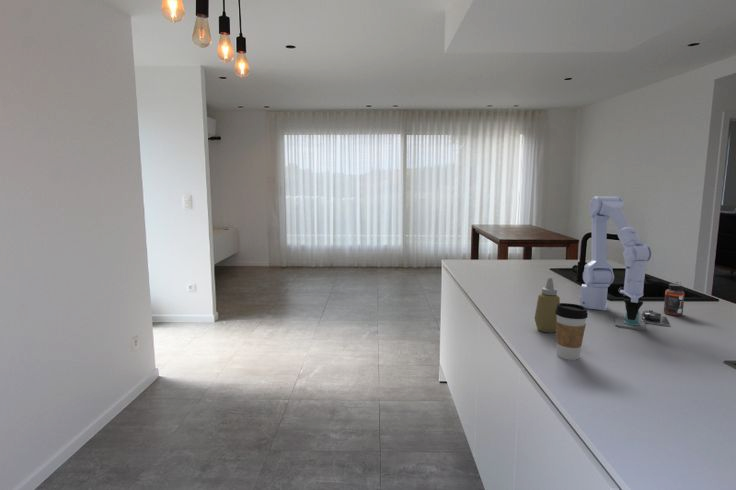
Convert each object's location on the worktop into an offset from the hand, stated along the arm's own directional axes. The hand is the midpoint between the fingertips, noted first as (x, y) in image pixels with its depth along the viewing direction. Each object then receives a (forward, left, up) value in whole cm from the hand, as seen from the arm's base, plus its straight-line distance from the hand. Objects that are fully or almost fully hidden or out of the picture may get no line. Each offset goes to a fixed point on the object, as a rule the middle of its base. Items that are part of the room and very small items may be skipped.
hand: (630, 317), depth 150 cm
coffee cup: (-17, -40, -3) cm, 44 cm away
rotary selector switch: (+7, +10, -3) cm, 13 cm away
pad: (0, 0, -3) cm, 3 cm away
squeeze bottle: (-25, -20, -3) cm, 32 cm away
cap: (+1, 0, -2) cm, 2 cm away
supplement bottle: (+15, +23, -3) cm, 28 cm away
